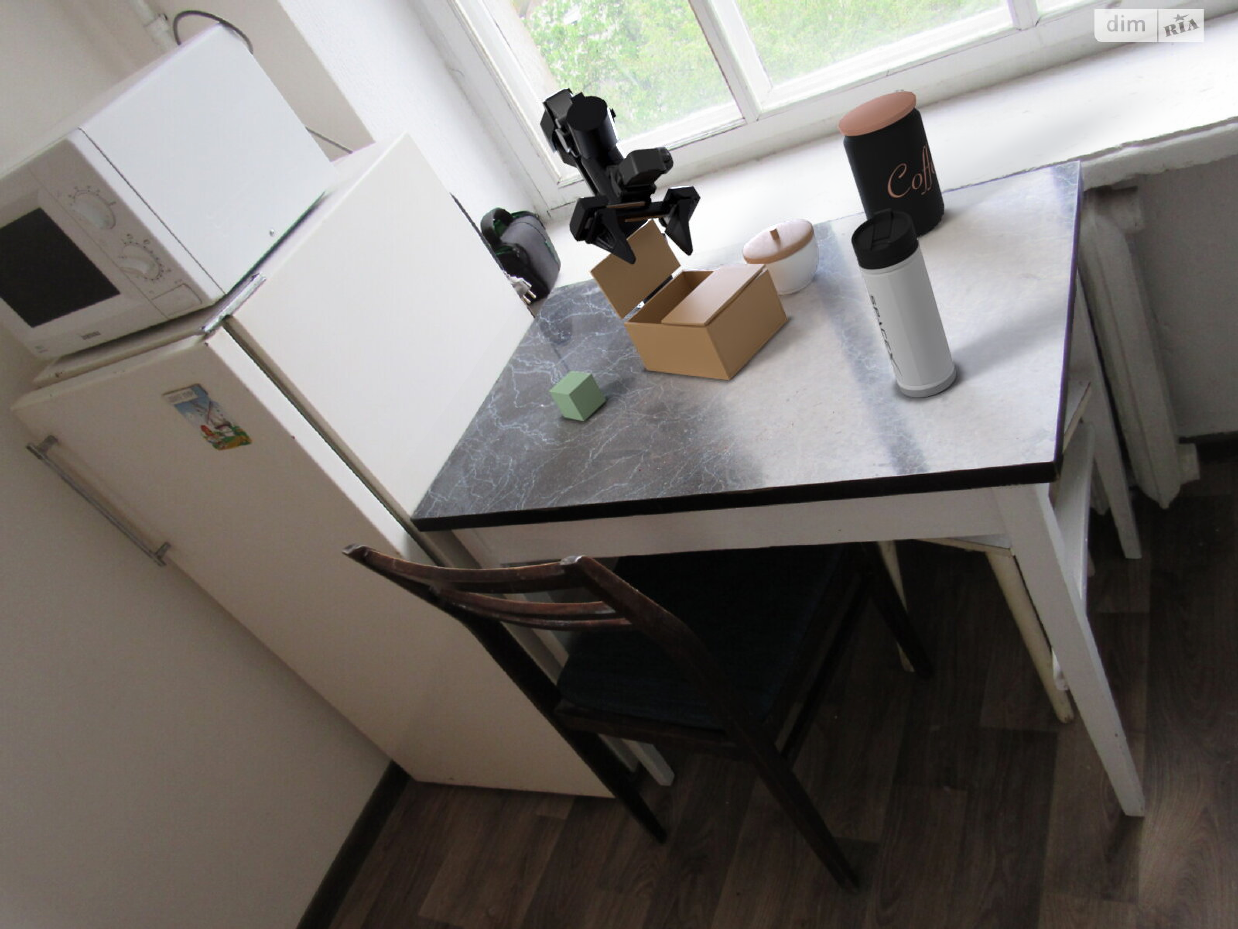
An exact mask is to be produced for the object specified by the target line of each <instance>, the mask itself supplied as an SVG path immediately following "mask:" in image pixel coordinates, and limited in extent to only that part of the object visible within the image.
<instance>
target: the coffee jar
mask: <svg viewBox="0 0 1238 929" xmlns="http://www.w3.org/2000/svg"><path fill="white" fill-rule="evenodd" d="M916 106H917V95H916V94H915V93H914V92H912V91H907V90H904V91H894V92H891V93H887V94H884V95H880V96H878V97H875V98H872V99H870V100H868V101H866V102H863V103H861V104H860V105H858V106H856V107H854V108H853V109H851V110H850V111H849V112H847V113H846V114H845V115H844V116H842V118H841V119H840V120H839V121H838V125H837V128H838V130H839V132H840V134H841V135H842V136H844V137H843V142H842V144H843V149H844V152H845V154H846V157H847V160H848V161H847V162H848V164H849V166H850V167H849V168H850V170H851V173H852V176H853V179H854V183H855V186H856V189H857V192H858V196H859V198H860V202H861V205H862V208H863V211H864V215H865V217H866V220H868V219H870V218H872V217H874V216H873V215H874V213H875V212H879V211H882V210H886V209H889V208H891V211H892V212H893V211H900V212H904V213H907V214H908V215H909V216H910V217H911V219H912V222H913V225H914V229H915V232H916V237H917V238H920V237H922V236H924V235H926V234H927V233H929V232H930V231H933V230H934V229H935V228H936V227H938V226H939V224H940V223H941V221H942V219H943V216H944V213H945V206H946V205H945V202H944V198H943V194H942V191H941V186H940V182H939V179H938V175H937V171H936V168H935V163H934V160H933V159H934V158H933V156H932V152H931V149H930V145H929V140H928V137H927V133H926V129H925V125H924V121H923V118H922V113H921V111H920V110H918V109H917V108H916Z"/></svg>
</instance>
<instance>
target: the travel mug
mask: <svg viewBox="0 0 1238 929" xmlns="http://www.w3.org/2000/svg"><path fill="white" fill-rule="evenodd" d="M873 216H874V217H872V218H870V219H868V220H867V219H866V220H865V221H864V222H862V223H861V224H859V226H857V228H856V229H854V231H853V233H852V235H851V239H850V242H851V246H852V249H853V252H854V255H855V257H856V261H857V265H858V268H859V270H860V274H861V278H862V280H863V284H864V287H865V290H866V293H867V296H868V298H869V301H870V304H871V308H872V310H873V315H874V316H875V320H876V323H877V326H878V328H879V332H880V334H881V335H880V336H881V337H882V341H883V344H884V347H885V350H886V353H887V355H888V359H889V362H890V364H891V368H892V370H893V373H894V377H895V379H896V383H897V386H898V390H900V392H901V393H902V394H903V395H905V396H907V397H911V398H926V397H931V396H934V395H937V394H939V393H941V392H943V391H944V390H946V389H948V387H950V386H951V385H952V384H953V383H954V381H955V379H956V376H957V370H956V367H955V363H954V360H953V356H952V353H951V349H950V346H949V342H948V338H947V336H946V331H945V328H944V324H943V322H942V318H941V315H940V310H939V307H938V304H937V301H936V297H935V294H934V290H933V287H932V286H933V285H932V283H931V279H930V276H929V272H928V269H927V265H926V262H925V259H924V255H923V252H922V249H921V244H920V242H919V239H918V237H916V232H915V229H914V225H913V222H912V219H911V217H910V216H909V215H908V214H907V213H904V212H900V211H893V212H892V211H891V208H889V209H886V210H882V211H879V212H875V213H874V215H873Z"/></svg>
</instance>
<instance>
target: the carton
mask: <svg viewBox="0 0 1238 929" xmlns="http://www.w3.org/2000/svg"><path fill="white" fill-rule="evenodd" d="M765 267H766V265H765V264H747V263H736V264H734V263H733V264H732V263H730V264H729V263H727V264H720V265H719V266H717V268H713V269H711V268H709V269H708V268H704V269H700V268H699V269H682V270H681V271H679V272H678V273H677V274H676V275H675V276H673V279H672V280H671V281H670V282H668V283H667V284H666V285H665V286H664V287H663V288H662V289H661V290H660V291H659V292H658V293H656V294H655V295H654V296H653V297H652V298H651V299H650V300H649V301H648V302H647V303H645V304H644V305H643V306H642V307H641V308H640V309H638V310H637V311H635V312H634V313H633V314H632V315H631V316H630V317H629V318H628V319H627V320H626V321H625V322H623V326H624V328H625V330H626V333H627V334H628V335H629V337H630V340H631V341H632V343H633V345H634V347H635V349H636V351H637V353H638V355H639V357H640V359H641V361H642V363H643V365H644V367H645V369H646V370H647V371H651V372H658V373H667V374H676V375H682V376H690V377H691V376H693V377H698V378H708V379H716V380H724V381H731V380H732V379H733V377H735V376H736V374H737V373H738V372H740V370H741V369H742V368H743V367H744V366H745V365H746V364H747V363H748V362H749V361H750V360H751V359H752V358H753V357H754V356H755V355H756V354H757V353H758V352H759V351H760V350H761V349H762V348H763V346H765V344H766V343H768V342H769V340H770V339H771V338H772V337H773V336H774V335H775V334H776V333H777V332H778V331H779V330H781V328H782V327H783V326H784V325H785V324H786V323H787V322H788V321H789V319H788V315H787V313H786V310H785V308H784V305H783V304H782V303H783V302H782V301H781V298H780V295H779V294H778V293H777V291H776V288H775V285H774V283H773V280H772V278H771V275H770V273H769V270H768V269H764V268H765Z"/></svg>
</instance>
